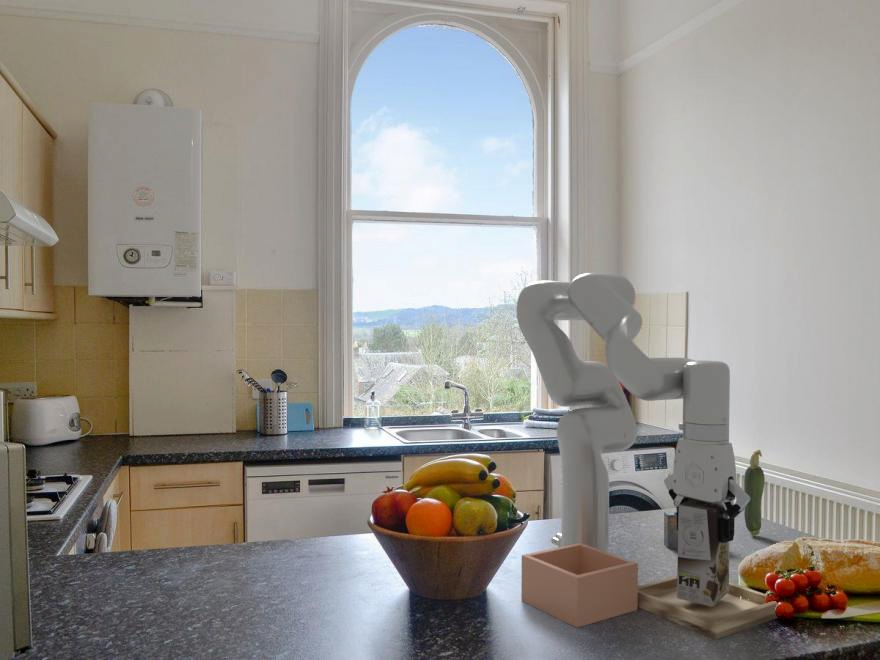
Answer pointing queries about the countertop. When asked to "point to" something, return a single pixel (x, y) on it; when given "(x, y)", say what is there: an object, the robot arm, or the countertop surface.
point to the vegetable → (754, 494)
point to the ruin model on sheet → (670, 530)
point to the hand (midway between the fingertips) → (704, 534)
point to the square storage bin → (579, 583)
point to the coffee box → (701, 554)
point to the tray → (707, 608)
